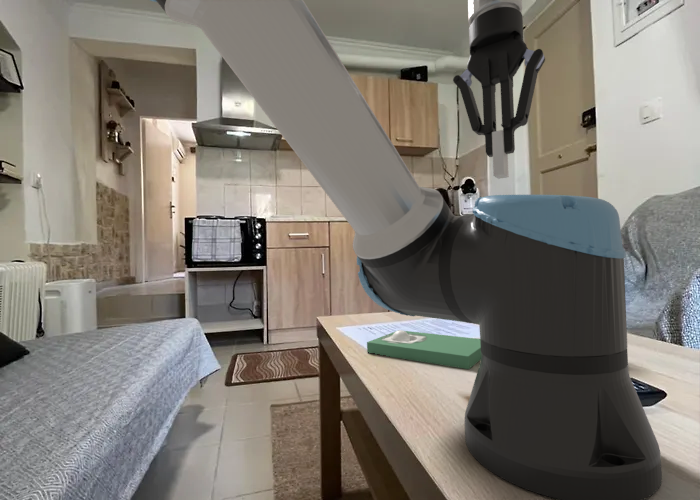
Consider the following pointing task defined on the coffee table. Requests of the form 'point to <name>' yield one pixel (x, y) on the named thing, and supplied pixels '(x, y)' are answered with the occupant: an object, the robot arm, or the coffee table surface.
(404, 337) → the ball
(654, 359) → the coffee table surface
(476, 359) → the putting strip
